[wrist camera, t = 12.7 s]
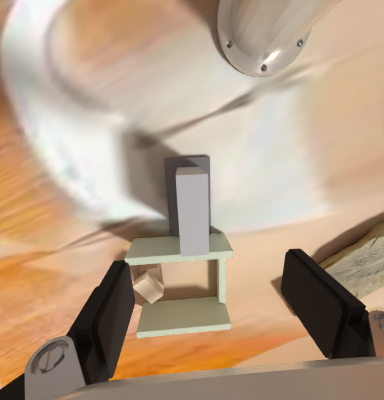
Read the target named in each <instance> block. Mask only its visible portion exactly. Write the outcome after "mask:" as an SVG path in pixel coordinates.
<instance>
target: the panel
mask: <svg viewBox="0 0 384 400" xmlns="http://www.w3.org/2000/svg"><path fill="white" fill-rule="evenodd" d="M164 160H165V172H166V184H167V196H168V209H169V221H170V233H171V236H172V235H179V220H178V204H177V189H176V171H177V167H201V168H202V169H203V170H204V171H205V172H206V173H208V208H209V233H211V218H210V157H190V158H168V159H164Z"/></svg>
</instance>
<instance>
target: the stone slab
mask: <svg viewBox="0 0 384 400" xmlns="http://www.w3.org/2000/svg"><path fill="white" fill-rule="evenodd" d="M318 265H320V266H321V267H322V268H323V269H324V270H325V271H326V272H328V273H329V274H330V275H331V276H332V277H333V278H334V279H336V280H337V281H338V282H339V283H340V284H341V285H342V286H344V287H345V288H346V289H347V290H348V291H349V292H350V293H352V294H353V295H354V296H355V297H356V298H357V299H358V300H359V299H361V298H363V297H365V296H367V295H369V294H371V293H372V292H374V291H376V290H377V289H379V288H381V287H384V221H383V222H380V223H378V224H376V225H375V226H374V227H372V228H371V229H370V230H369V232H368V233H367V234H366V235H365V236H364V237H363V238H361V239H360V240H359V241H358V242H356V243H355V244H353V245H351V246H348V247H346V248H345V249H343V250H341V251H339V252H338V253H337V254H335V255H333V256H330V257H329V258H327V259H326V260H324V261H323V262H321V263H320V264H318Z"/></svg>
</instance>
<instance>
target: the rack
mask: <svg viewBox="0 0 384 400" xmlns="http://www.w3.org/2000/svg"><path fill="white" fill-rule="evenodd" d="M226 258H233V250H232V248H231V246H230V244H229V242H228V240H227V238H226V237H225V235H224V233H209V255H199V256H185V257H181V251H180V236H164V237H149V238H134V240H133V242H132V244H131V246H130V248H129V250H128V252H127V254H126V256H125V258H124V260H125V261H126V263H127V262H128V263H129V265H143V264H156V263H170V262H183V261H197V260H210V259H217V296H213V297H202V298H190V299H178V300H166V301H155V302H153V303H152V304H151V303H149V302H144V303H143V307H142V312H141V316H140V320H139V324H138V328H137V338H143V337H153V336H164V335H174V334H185V333H195V332H206V331H216V330H227V329H231V322H230V318H229V315H228V312H227V308H226V305H225V287H226Z"/></svg>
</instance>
